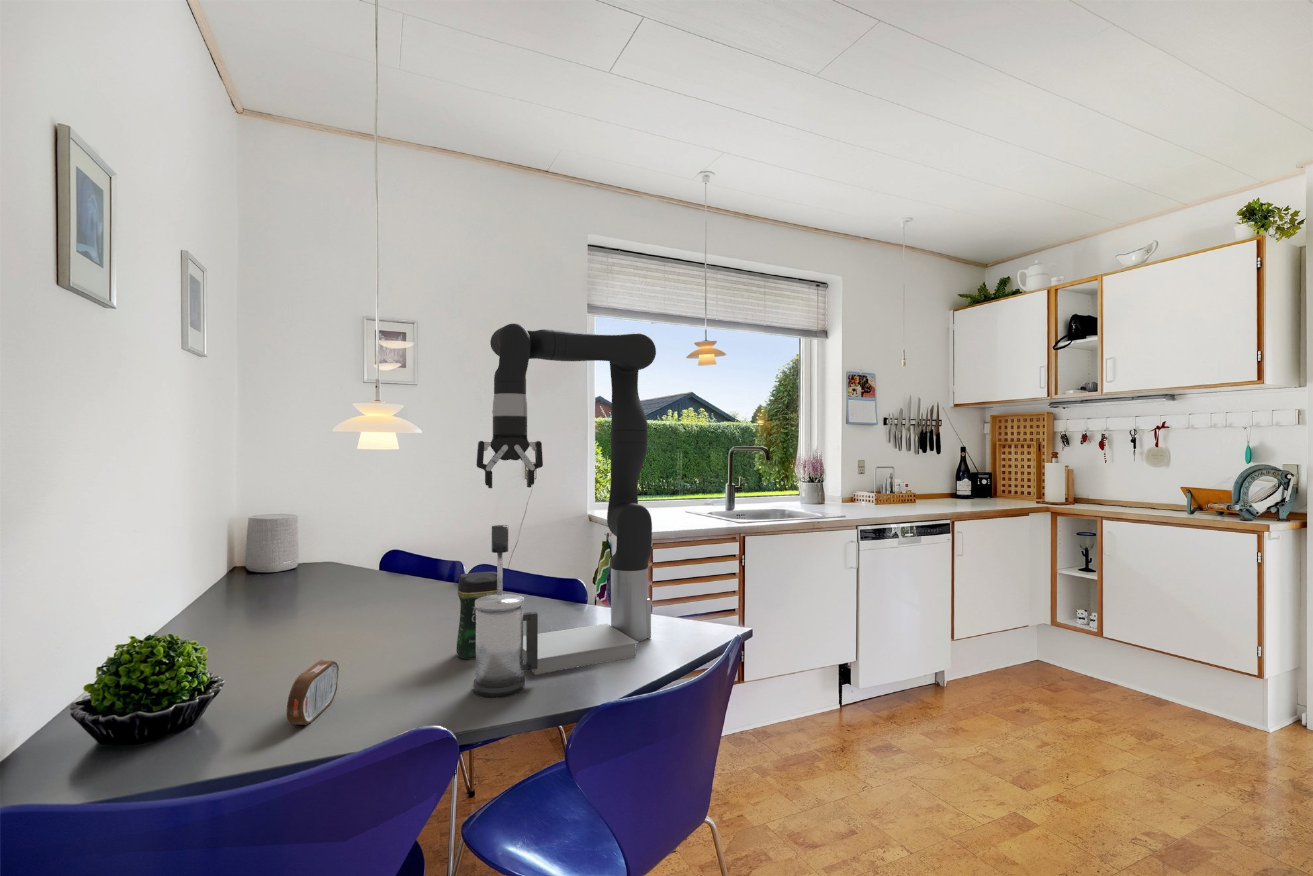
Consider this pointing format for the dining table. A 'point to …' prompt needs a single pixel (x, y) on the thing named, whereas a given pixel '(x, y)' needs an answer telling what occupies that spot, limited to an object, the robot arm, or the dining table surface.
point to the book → (581, 647)
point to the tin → (312, 692)
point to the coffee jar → (472, 608)
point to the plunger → (499, 550)
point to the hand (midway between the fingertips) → (509, 487)
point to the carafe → (503, 645)
